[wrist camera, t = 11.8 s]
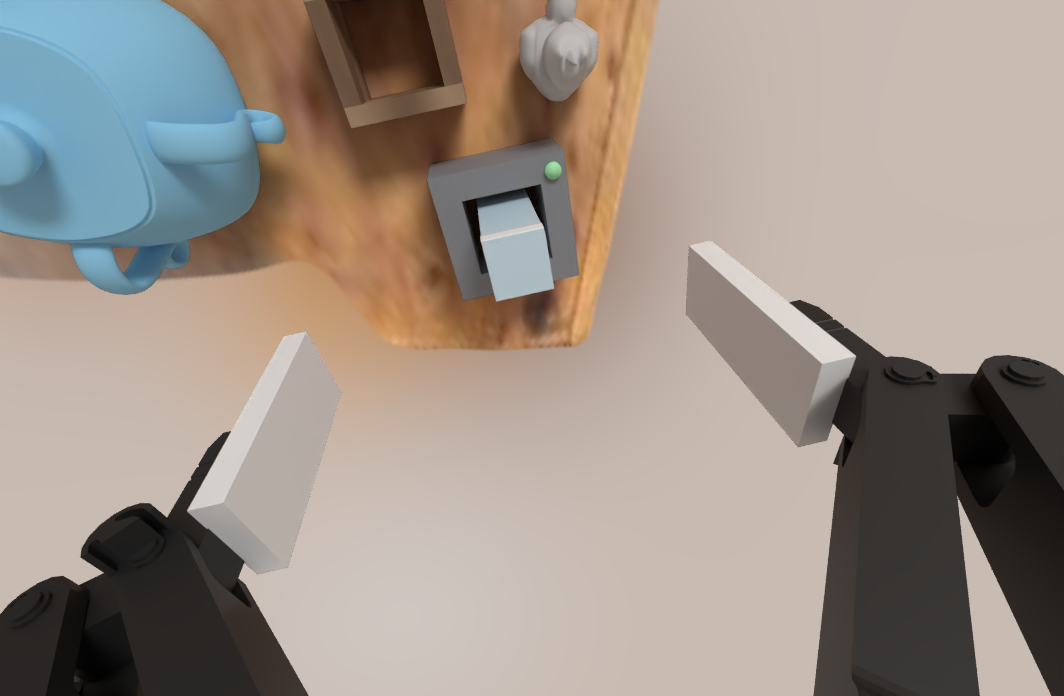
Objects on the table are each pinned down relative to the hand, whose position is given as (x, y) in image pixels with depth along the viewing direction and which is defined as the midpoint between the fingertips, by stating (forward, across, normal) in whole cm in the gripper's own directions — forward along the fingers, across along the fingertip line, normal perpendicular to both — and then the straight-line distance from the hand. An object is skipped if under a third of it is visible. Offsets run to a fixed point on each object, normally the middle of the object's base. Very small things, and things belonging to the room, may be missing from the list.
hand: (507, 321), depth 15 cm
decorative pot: (+26, -22, +7) cm, 34 cm away
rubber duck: (+26, +7, +6) cm, 27 cm away
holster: (+25, -4, +8) cm, 27 cm away
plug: (+25, +1, -5) cm, 26 cm away
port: (+25, +1, -5) cm, 25 cm away
